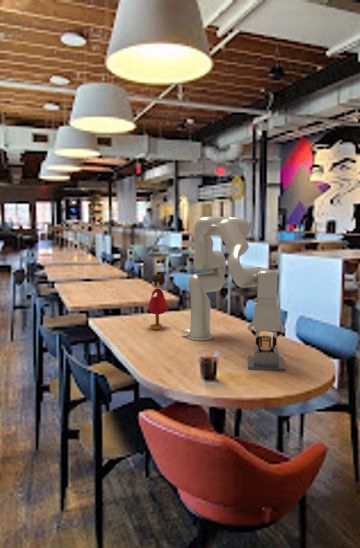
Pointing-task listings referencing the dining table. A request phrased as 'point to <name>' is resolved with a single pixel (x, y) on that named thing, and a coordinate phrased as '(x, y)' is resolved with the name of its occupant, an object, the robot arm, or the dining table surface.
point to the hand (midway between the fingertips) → (266, 346)
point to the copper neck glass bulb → (265, 343)
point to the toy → (157, 299)
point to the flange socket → (266, 360)
